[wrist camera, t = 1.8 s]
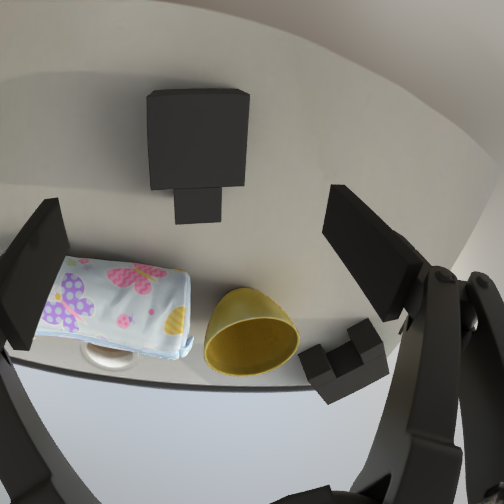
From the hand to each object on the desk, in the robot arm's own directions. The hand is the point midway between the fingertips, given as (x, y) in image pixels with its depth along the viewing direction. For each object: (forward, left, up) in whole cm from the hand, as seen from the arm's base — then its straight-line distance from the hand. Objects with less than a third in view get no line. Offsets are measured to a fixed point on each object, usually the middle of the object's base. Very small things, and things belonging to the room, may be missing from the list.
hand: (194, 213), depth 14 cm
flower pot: (+5, +19, -14) cm, 24 cm away
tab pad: (0, +1, -14) cm, 14 cm away
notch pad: (-3, +40, -14) cm, 43 cm away
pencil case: (+16, +6, -14) cm, 22 cm away
